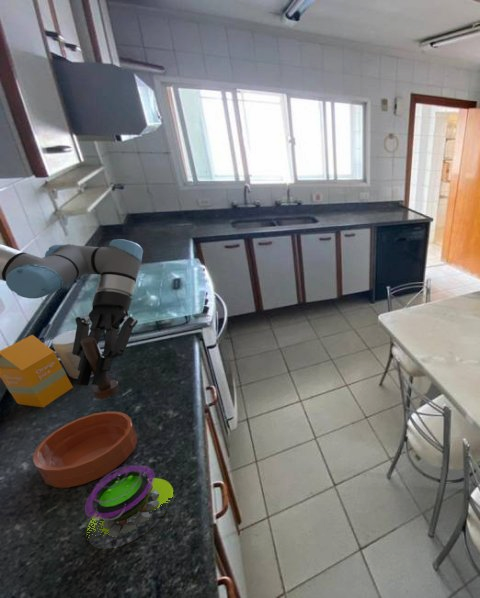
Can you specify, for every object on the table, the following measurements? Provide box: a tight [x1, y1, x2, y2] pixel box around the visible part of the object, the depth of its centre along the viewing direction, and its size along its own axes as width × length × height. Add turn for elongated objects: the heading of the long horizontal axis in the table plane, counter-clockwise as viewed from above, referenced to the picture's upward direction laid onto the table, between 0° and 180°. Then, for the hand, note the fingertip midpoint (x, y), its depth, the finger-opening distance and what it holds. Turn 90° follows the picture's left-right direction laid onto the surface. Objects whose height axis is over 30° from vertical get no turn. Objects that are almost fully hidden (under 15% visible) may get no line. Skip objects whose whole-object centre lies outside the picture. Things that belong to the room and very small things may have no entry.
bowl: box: [32, 410, 138, 489], centre depth 81 cm, size 18×18×6 cm
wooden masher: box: [80, 337, 121, 400], centre depth 82 cm, size 5×5×16 cm
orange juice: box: [0, 334, 74, 408], centre depth 93 cm, size 8×9×20 cm
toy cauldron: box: [84, 465, 174, 538], centre depth 68 cm, size 15×15×11 cm
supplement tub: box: [51, 329, 103, 380], centre depth 106 cm, size 10×10×15 cm
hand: (89, 384), depth 80 cm, fingers closed on wooden masher, 3 cm apart
